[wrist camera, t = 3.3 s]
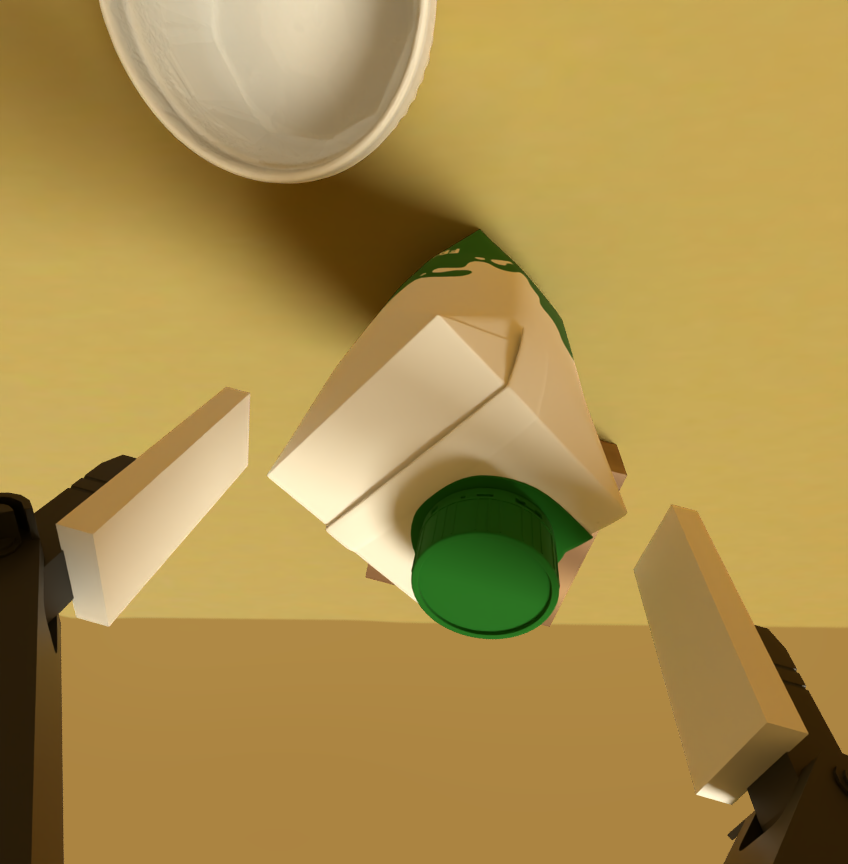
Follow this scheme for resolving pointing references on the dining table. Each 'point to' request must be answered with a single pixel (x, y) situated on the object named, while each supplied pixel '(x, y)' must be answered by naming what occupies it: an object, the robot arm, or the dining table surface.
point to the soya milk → (458, 446)
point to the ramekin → (275, 77)
